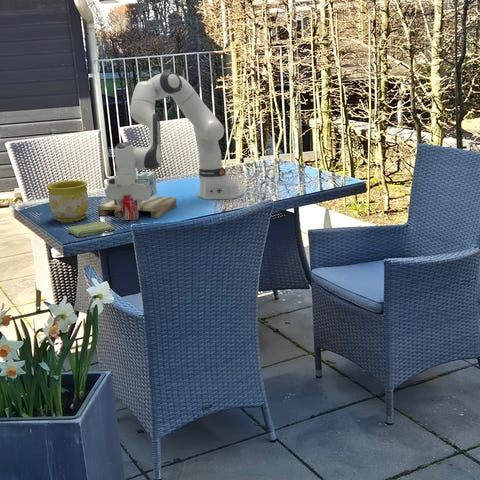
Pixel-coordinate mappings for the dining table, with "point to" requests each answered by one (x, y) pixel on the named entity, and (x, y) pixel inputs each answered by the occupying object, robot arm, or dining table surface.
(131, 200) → the soda can
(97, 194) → the dining table surface
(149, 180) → the light bulb box
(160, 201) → the wooden pallet
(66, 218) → the flowerpot
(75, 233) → the washcloth
